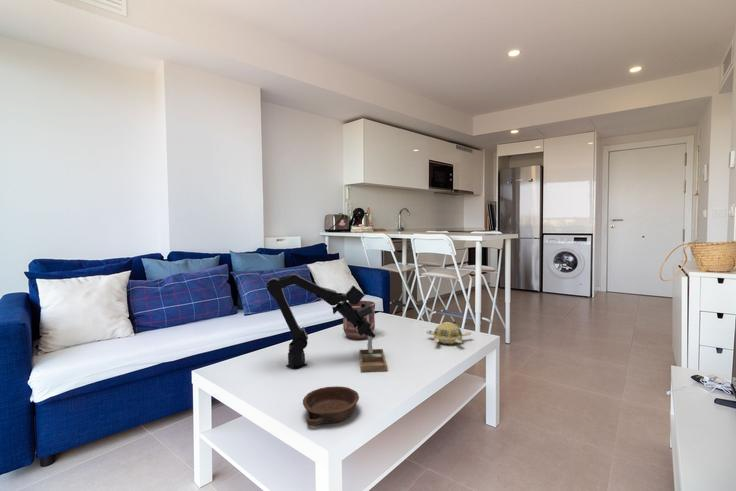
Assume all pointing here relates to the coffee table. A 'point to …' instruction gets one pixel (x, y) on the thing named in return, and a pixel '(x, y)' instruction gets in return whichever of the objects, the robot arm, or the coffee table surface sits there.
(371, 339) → the lighter
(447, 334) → the decorative figurine
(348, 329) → the pottery
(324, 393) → the dish
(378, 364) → the organiser
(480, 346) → the coffee table surface
